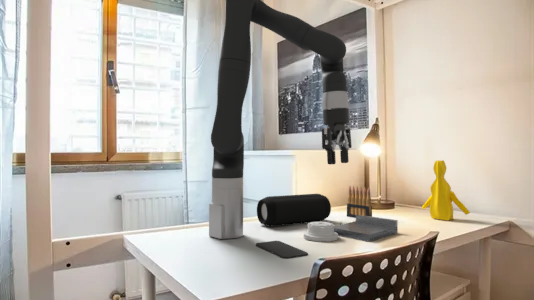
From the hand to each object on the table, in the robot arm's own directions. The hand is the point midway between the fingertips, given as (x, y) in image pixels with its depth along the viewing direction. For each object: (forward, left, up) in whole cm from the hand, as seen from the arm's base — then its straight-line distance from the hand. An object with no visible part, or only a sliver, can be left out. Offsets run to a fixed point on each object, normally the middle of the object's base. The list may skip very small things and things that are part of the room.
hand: (338, 163), depth 108 cm
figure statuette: (+53, -9, -22) cm, 58 cm away
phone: (-22, +2, -22) cm, 32 cm away
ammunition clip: (+33, +14, -22) cm, 41 cm away
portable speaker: (+7, +23, -22) cm, 33 cm away
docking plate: (+10, -2, -22) cm, 24 cm away
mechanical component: (-4, +3, -22) cm, 23 cm away
